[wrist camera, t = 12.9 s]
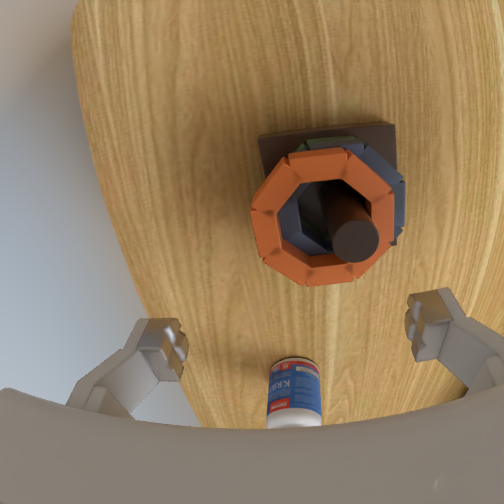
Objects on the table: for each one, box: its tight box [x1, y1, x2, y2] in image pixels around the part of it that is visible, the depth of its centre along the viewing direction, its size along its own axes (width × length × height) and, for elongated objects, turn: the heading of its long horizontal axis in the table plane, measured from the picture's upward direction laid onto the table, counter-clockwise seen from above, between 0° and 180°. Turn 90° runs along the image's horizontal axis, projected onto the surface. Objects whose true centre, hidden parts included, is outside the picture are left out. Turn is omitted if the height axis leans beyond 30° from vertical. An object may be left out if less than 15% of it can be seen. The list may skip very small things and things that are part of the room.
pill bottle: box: [266, 358, 321, 429], centre depth 28 cm, size 6×5×10 cm
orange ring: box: [250, 147, 394, 287], centre depth 17 cm, size 8×8×1 cm
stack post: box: [258, 122, 405, 263], centre depth 18 cm, size 9×9×8 cm
